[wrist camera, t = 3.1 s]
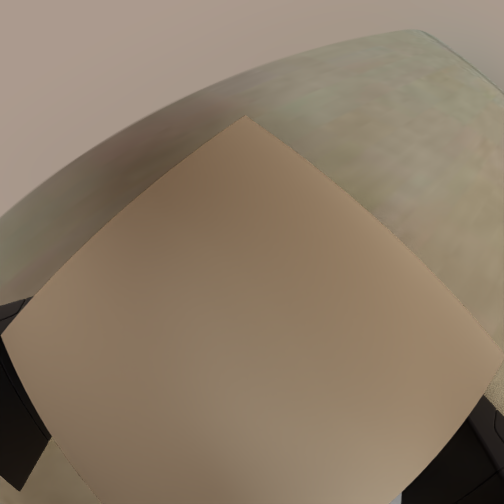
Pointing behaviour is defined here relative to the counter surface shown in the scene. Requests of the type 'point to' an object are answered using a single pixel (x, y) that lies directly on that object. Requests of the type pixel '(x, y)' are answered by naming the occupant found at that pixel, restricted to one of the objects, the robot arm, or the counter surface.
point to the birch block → (248, 341)
